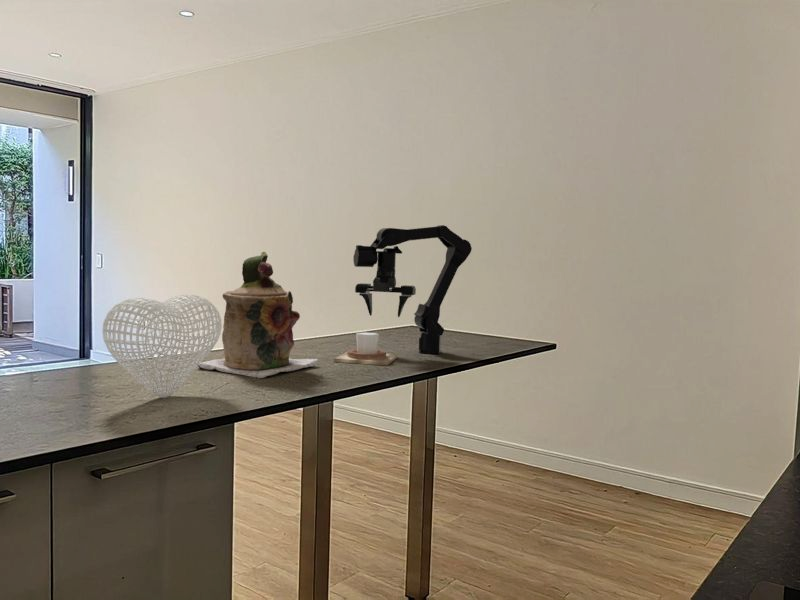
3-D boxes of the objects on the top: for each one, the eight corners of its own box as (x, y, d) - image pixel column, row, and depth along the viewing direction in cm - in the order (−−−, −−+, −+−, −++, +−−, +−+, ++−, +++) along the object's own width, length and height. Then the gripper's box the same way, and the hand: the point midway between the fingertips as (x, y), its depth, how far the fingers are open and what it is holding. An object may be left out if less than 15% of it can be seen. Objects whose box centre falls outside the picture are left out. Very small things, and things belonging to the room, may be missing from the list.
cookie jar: (192, 369, 191) (194, 249, 189) (251, 357, 213) (253, 250, 211) (266, 379, 180) (268, 253, 178) (320, 366, 202) (323, 253, 199)
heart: (140, 415, 140) (141, 302, 139) (86, 404, 147) (86, 297, 146) (234, 391, 165) (235, 295, 163) (184, 383, 172) (185, 291, 170)
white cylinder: (350, 355, 215) (351, 332, 215) (367, 353, 220) (367, 331, 220) (366, 359, 211) (367, 335, 210) (382, 356, 216) (383, 334, 215)
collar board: (397, 357, 221) (397, 349, 221) (387, 365, 207) (387, 356, 207) (347, 354, 225) (347, 346, 224) (334, 361, 210) (334, 353, 210)
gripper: (351, 267, 221) (349, 317, 222) (410, 269, 218) (408, 320, 219) (360, 266, 232) (358, 313, 233) (416, 268, 228) (415, 316, 230)
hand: (384, 316), depth 228 cm, fingers open, 9 cm apart
